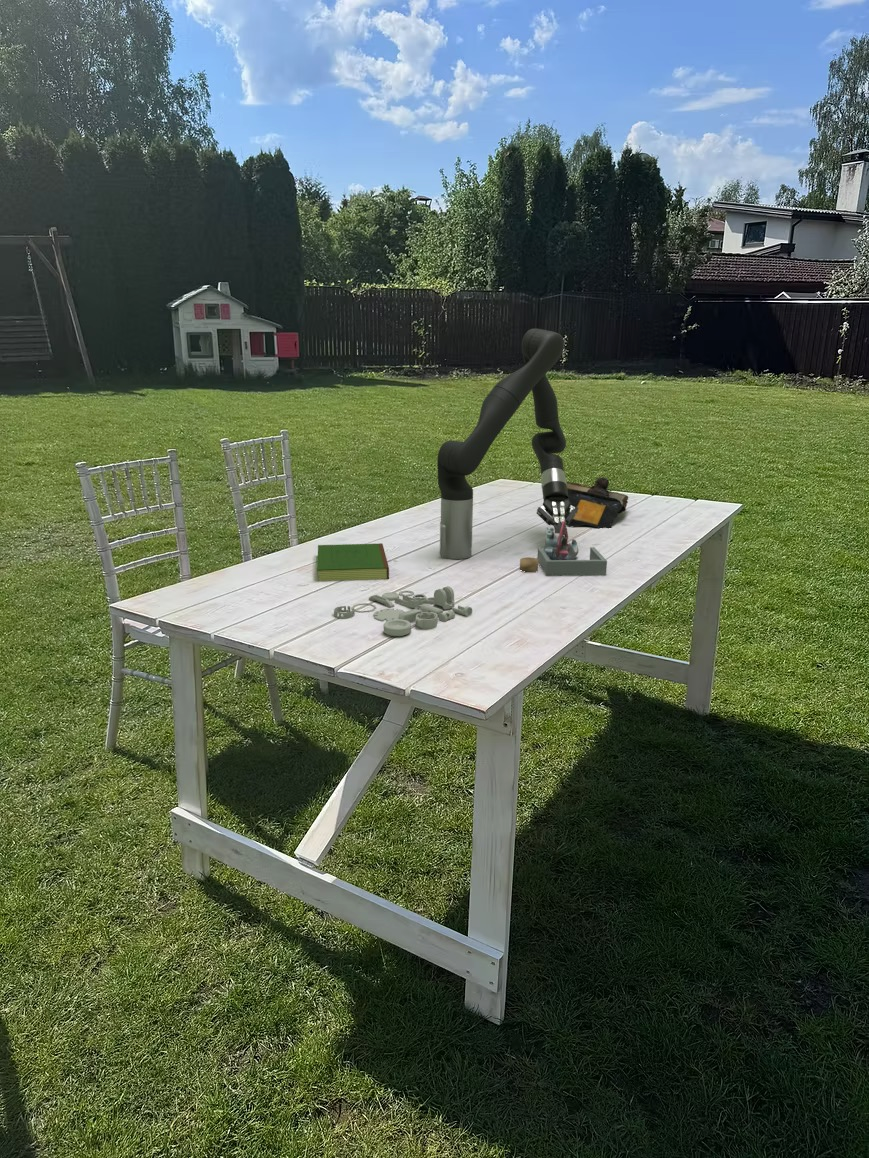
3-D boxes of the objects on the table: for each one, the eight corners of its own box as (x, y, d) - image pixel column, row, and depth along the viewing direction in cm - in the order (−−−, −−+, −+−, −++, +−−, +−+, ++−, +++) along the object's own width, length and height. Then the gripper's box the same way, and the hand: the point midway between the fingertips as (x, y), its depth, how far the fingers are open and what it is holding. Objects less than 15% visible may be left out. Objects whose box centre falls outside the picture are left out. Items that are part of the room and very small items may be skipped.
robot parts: (324, 615, 184) (323, 594, 182) (403, 591, 200) (403, 571, 199) (395, 645, 167) (394, 621, 165) (475, 615, 183) (475, 594, 182)
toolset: (635, 528, 258) (571, 478, 255) (595, 569, 267) (533, 521, 264) (633, 488, 293) (577, 443, 290) (598, 525, 302) (543, 482, 299)
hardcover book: (389, 580, 208) (388, 567, 207) (317, 583, 206) (317, 569, 205) (382, 554, 232) (382, 542, 230) (318, 556, 229) (318, 544, 228)
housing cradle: (546, 575, 211) (546, 561, 210) (537, 561, 224) (537, 547, 223) (606, 575, 212) (607, 560, 211) (593, 560, 225) (594, 547, 224)
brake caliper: (581, 557, 219) (557, 521, 219) (549, 576, 225) (526, 541, 224) (589, 547, 229) (566, 513, 229) (558, 565, 235) (536, 532, 234)
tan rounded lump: (521, 573, 214) (521, 562, 213) (518, 567, 219) (518, 557, 218) (539, 573, 214) (539, 562, 213) (536, 567, 219) (536, 557, 218)
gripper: (534, 479, 235) (540, 529, 227) (578, 479, 236) (585, 529, 228) (530, 493, 242) (536, 542, 234) (573, 493, 243) (580, 542, 235)
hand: (560, 535), depth 231 cm, fingers closed
